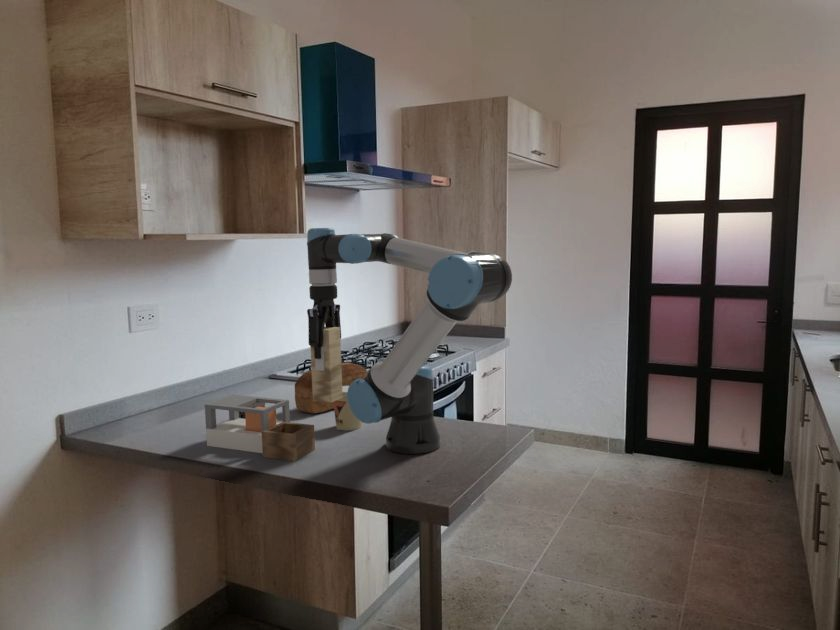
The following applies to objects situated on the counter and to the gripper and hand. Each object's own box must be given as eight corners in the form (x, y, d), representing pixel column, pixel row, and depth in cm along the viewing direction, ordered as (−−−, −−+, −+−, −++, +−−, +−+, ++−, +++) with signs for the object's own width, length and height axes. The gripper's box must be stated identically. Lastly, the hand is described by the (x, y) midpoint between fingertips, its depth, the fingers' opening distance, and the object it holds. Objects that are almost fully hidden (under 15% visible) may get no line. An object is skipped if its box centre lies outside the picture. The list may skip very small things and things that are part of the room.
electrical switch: (264, 423, 209) (263, 395, 207) (268, 429, 204) (267, 401, 202) (234, 427, 205) (233, 399, 203) (236, 434, 200) (235, 404, 199)
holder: (315, 449, 182) (314, 425, 181) (294, 461, 173) (293, 435, 172) (284, 445, 186) (283, 421, 185) (262, 457, 177) (261, 431, 176)
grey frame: (290, 440, 191) (288, 400, 189) (265, 453, 180) (263, 410, 178) (234, 433, 199) (232, 394, 197) (207, 445, 188) (204, 404, 186)
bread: (373, 400, 237) (372, 360, 235) (314, 417, 215) (312, 374, 214) (350, 395, 244) (348, 357, 243) (290, 411, 223) (288, 370, 221)
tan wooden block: (342, 397, 187) (339, 327, 184) (331, 402, 181) (328, 330, 179) (324, 396, 189) (321, 326, 187) (312, 400, 183) (309, 329, 181)
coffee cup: (329, 425, 206) (327, 387, 204) (357, 421, 210) (356, 384, 208) (339, 433, 197) (338, 393, 196) (368, 428, 202) (367, 389, 200)
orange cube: (276, 429, 188) (275, 408, 188) (263, 435, 183) (262, 413, 182) (259, 427, 191) (258, 406, 190) (246, 433, 185) (245, 411, 185)
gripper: (329, 282, 192) (332, 361, 194) (291, 287, 174) (295, 373, 177) (352, 282, 189) (355, 362, 191) (316, 287, 171) (320, 375, 174)
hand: (326, 367), depth 184 cm, fingers closed on tan wooden block, 6 cm apart
